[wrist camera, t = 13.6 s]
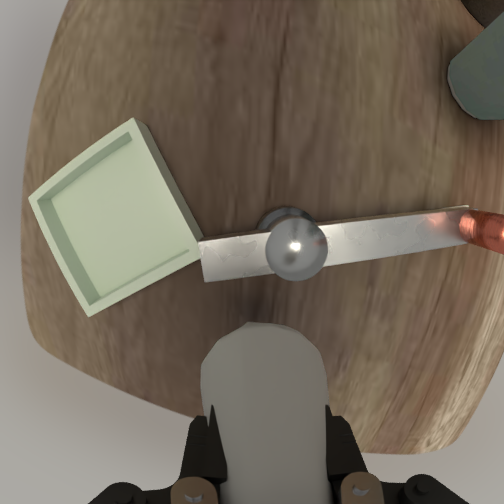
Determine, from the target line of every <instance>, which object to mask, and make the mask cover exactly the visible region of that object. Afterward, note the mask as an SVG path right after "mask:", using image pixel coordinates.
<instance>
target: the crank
mask: <svg viewBox="0 0 504 504" xmlns="http://www.w3.org/2000/svg"><path fill="white" fill-rule="evenodd" d="M467 243H470V244H474V245H477V246H480V247H483V248H486V249H489V250H492V251H495V252H498V253H501V254H504V215H502V214H497V213H491V212H485V211H479V210H478V209H477V208H471V207H455V208H445V209H434V210H424V211H414V212H405V213H395V214H386V215H377V216H368V217H359V218H350V219H341V220H333V221H324V222H316V223H313V222H311V221H309V220H307V219H305V218H303V217H301V216H299V215H295V214H286V215H282V216H279V217H277V218H275V219H274V220H273V221H271V222H270V224H269V225H268V226H267V228H266V229H260V230H253V231H245V232H238V233H230V234H223V235H216V236H208V237H202V238H201V239H200V240H199V241H198V246H199V252H200V258H201V264H202V270H203V275H204V281H205V282H212V281H220V280H228V279H236V278H244V277H251V276H259V275H266V274H274V273H276V274H277V275H278V276H280V277H281V278H283V279H286V280H290V281H302V280H306V279H309V278H311V277H312V276H314V275H315V274H317V273H318V272H319V271H320V270H321V268H322V267H324V266H330V265H337V264H344V263H351V262H357V261H364V260H370V259H377V258H383V257H389V256H396V255H402V254H408V253H414V252H420V251H426V250H432V249H438V248H444V247H449V246H455V245H461V244H467Z"/></svg>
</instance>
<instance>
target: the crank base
mask: <svg viewBox="0 0 504 504" xmlns="http://www.w3.org/2000/svg"><path fill="white" fill-rule="evenodd" d="M286 214H295V215H299V216H301V217H303V218H305V219H307V220H309V221H311V222H313V223H316V221H315V220H314V219H313V218H312V217H311V216H310V215H309V214H308V213H306V212H305V211H302V210H300V209H298V208H295V207H292V206H279V207H276V208H273V209H271V210H270V211H268V212H267V213H265V214H264V215H263V216H262V218H261V219H260V221H259V223H258V225H257V228H256V230H260V229H266V228H267V226H268V225H269V224H270V222H271V221H273V220H274V219H275V218H277V217H279V216H282V215H286Z"/></svg>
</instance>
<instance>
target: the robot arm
mask: <svg viewBox="0 0 504 504" xmlns="http://www.w3.org/2000/svg"><path fill="white" fill-rule="evenodd" d="M325 418H326V465H327V476H328V481H329V482H330V483H331V484H332V491H333V498H334V504H469V503H468V502H466V501H465V500H463V499H462V498H460V497H459V496H458V495H456V494H455V493H454V492H452V491H451V490H450V489H448V488H447V487H446V486H444V485H443V484H441V483H440V482H439V481H437V480H436V479H435V478H433V477H432V476H430V475H426V474H418V475H414V476H412V477H411V478H409V479H408V480H407V482H406V483H387V482H382V481H379V479H378V478H377V477H376V476H374V475H373V474H370V473H369V472H368V470H367V468H366V466H365V463H364V461H363V458H362V455H361V453H360V450H359V448H358V445H357V443H356V440H355V437H354V435H353V432H352V430H351V427H350V425H349V423H348V422H347V421H346V420H345V419H344V418H343V417H342V416H332V413H331V410H330V407H329V405H327V404H326V405H325ZM226 481H227V462H226V458H225V454H224V450H223V446H222V441H221V437H220V433H219V428H218V424H217V419H216V415H215V410H214V406H213V405H211V411H210V419H209V426H208V422H207V416H196V418H195V419H194V420H193V421H192V422H191V423H190V426H189V431H188V437H187V441H186V446H185V451H184V456H183V461H182V467H181V472H180V476H179V478H178V480H177V481H176V482H175V483H174V484H173V485H171V486H170V487H167V488H165V489H160V490H149V491H142V490H141V489H140V488H139V487H137V486H136V485H134V484H131V483H127V482H119V483H114V484H112V485H110V486H108V487H107V488H106V489H105V490H104V491H102V492H101V493H100V494H99V495H98V496H97V497H96V498H94V499H93V500H92V501H91V502H90V503H88V504H219V503H220V484H222V483H224V482H226Z"/></svg>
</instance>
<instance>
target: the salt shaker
mask: <svg viewBox="0 0 504 504" xmlns="http://www.w3.org/2000/svg"><path fill="white" fill-rule="evenodd" d="M201 395H202V403H203V410H204V416H207V422H208V426H209V419H210V411H211V405H213V406H214V410H215V415H216V419H217V424H218V428H219V433H220V437H221V441H222V446H223V450H224V454H225V458H226V462H227V481H226V482H224V483H222V484H220V503H219V504H334V498H333V491H332V484H331V483H330V482H329V481H328V476H327V465H326V418H325V405H326V404H327V405H329V396H328V385H327V376H326V371H325V368H324V364H323V361H322V357H321V354H320V352H319V350H318V349H317V348H316V347H315V346H314V345H313V344H312V343H311V342H310V341H309V340H308V339H307V338H305V337H304V336H303V335H302V334H301V333H300V332H299V331H297V330H295V329H293V328H290V327H288V326H286V325H281V324H272V323H257V322H247V323H246V324H244V325H243V326H242V327H240V328H238V329H237V330H235V331H233V332H231V333H229V334H228V335H226V336H224V337H222V338H220V339H219V340H218V341H217V342H216V344H215V345H214V346H213V348H212V349H211V351H210V352H209V353H208V355H207V356H206V358H205V359H204V361H203V363H202V364H201Z"/></svg>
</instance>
